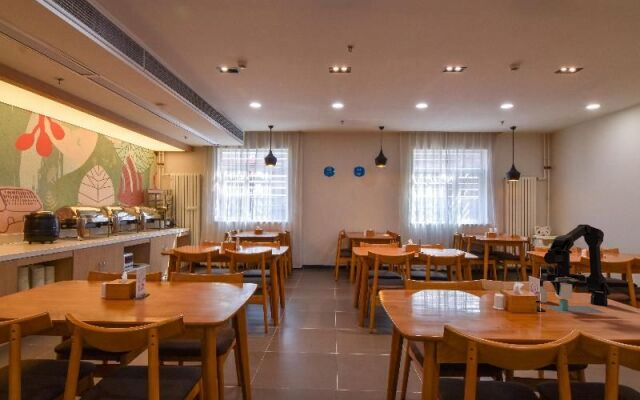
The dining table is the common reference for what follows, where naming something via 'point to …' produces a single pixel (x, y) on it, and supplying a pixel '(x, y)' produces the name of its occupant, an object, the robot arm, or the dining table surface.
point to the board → (576, 309)
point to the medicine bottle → (543, 292)
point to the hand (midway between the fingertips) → (563, 295)
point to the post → (563, 304)
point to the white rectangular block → (565, 291)
